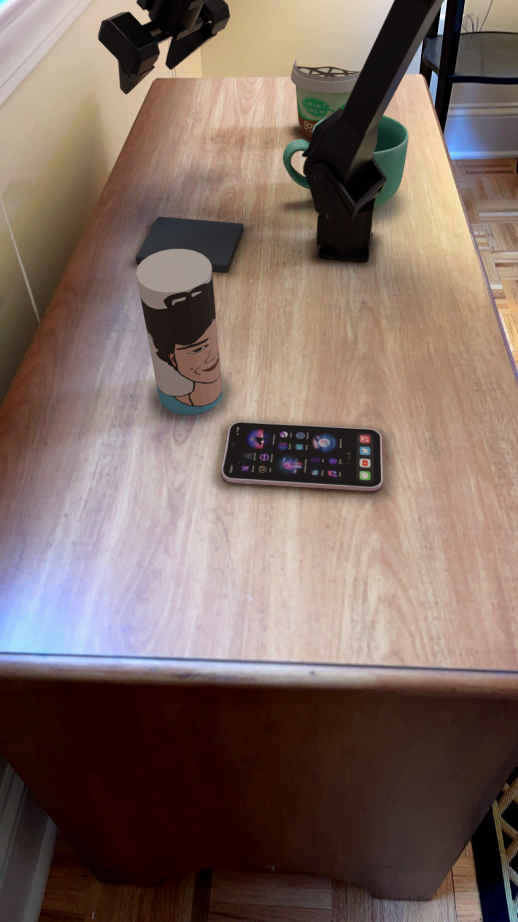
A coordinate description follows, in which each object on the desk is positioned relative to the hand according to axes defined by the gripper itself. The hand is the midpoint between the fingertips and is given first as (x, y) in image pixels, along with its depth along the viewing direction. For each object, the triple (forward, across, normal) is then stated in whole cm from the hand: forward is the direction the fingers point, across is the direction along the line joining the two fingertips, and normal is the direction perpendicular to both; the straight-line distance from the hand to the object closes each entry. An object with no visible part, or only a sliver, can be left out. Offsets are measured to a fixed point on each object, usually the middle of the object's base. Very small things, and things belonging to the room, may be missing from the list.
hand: (146, 79), depth 90 cm
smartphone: (-12, +34, +46) cm, 58 cm away
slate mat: (+5, +10, +19) cm, 23 cm away
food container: (+6, -26, +19) cm, 33 cm away
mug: (-1, -10, +29) cm, 30 cm away
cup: (-4, +33, +33) cm, 47 cm away
